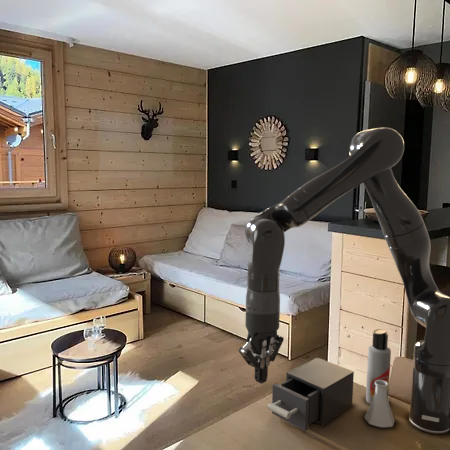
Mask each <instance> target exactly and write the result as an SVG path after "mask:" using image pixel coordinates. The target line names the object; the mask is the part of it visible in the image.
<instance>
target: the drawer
mask: <svg viewBox="0 0 450 450" xmlns="http://www.w3.org/2000/svg"><path fill="white" fill-rule="evenodd" d="M271 393H272V397H271V398H272V400H271V401H272V402H269V403H268V404H267V409H268V410H269V411H271V413H272V415H274V416H276V417H279V418H280V419H281V420H283V421H285V422H287V423H289V424H291V425H293V426H294V427H297V428H298V429H300V430H302V431H304V432H306V431H308V430H309V425H311V424H313V423H314V422H315V420H317V419H319V418H320V408H321V390H318V389H316V388H314V387H312V386H309V385H307V384H305V383H303V382H300V381H298V380H296V379H294V378H290V379H288V380H285V381H282V382H281V383H280V384H279V383H277V382H275V383H273V384H272V392H271Z"/></svg>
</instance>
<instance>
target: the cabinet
mask: <svg viewBox="0 0 450 450" xmlns="http://www.w3.org/2000/svg"><path fill="white" fill-rule="evenodd" d="M354 376H355V371H354V370H352V369H348V368H345V367H343V366H340V365H338V364H335V363H332V362H330V361H327V360H325V359H322V358H320V357H315V358H313V359H312V360H310V361H307V362H305V363H304V364H301V365H299V366H297V367H295V368H293V369H291V370H288V371H286V380H288V379H290V378H294V379H296V380H298V381H300V382H303V383H305V384H307V385H309V386H312V387H314V388H316V389H318V390H321V408H320V418H319V419H317V420H315V421H314V422H315V423H317V424H319V425H321V426H324V425H325V424H327V423H328V422H330V421H331V420H333V419H335V418H336V417H338V416H339V415H341V414H342V413H343V412H345V411H346V410H348V409H349V408H351V407H352V406H353V398H354V397H353V396H354ZM286 380H285V381H286Z"/></svg>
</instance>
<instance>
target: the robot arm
mask: <svg viewBox="0 0 450 450" xmlns="http://www.w3.org/2000/svg"><path fill="white" fill-rule="evenodd" d="M348 148H349V149H348V150H349V151H348V152H349V157H348V158H346V159H344V161H342V162H340V163H339V164H337V165H336V166H334V167H332V168H330V169H329V170H327V171H325V172H323V173H321V174H319V175H318V176H315V177H313V178H311V179H310V180H308V181H307V182H305V183H304V184H302V185H301V186H299V187H298V188H297V189H296V190H293V192H291V193H290V194H288V195H287V196H286V197H285V198H284V199H282V200H281V201H280V202H278V203H276V204H274V205H272V206H270V207H269V208H266V209H265V210H262V211H261V212H259V213H258V214H257V215H255V216H254V217H253V218H251V220H249V222H248V223H247V224H246V227H245V230H244V235H245V239H246V241H247V242H248V243H249V244H250V245H251V246H252V254H251V255H252V258H251V262H250V263H249V264H248V266H247V273H246V274H247V276H246V277H247V281H246V293H245V323H244V324H245V328H246V330H247V336H246V338H245V339H246V341H245V342H246V343H245V344H244V345H243V347H242V346H240V347H239V348H238V353H239V354H240V355H241V357H242V358H243V359H244V361H245V362H246V363H247V365H248V366H250V367H252V368H254V380H255V381H256V382H257V383H259V384H264V383H267V381H268V374H269V366H270V365H271V364H270V363H271V362H274V361H275V360H276V358H277V355H278V353H279V351H280V349H281V347H282V345H283V343H284V339H285V337H283V336H281V335H279V334H278V330H279V329H280V321H281V320H280V318H281V316H280V314H281V295H280V276H281V275H280V269H281V265H282V261H283V256H284V251H285V246H286V237H285V233H286V232H287V231H289V230H291V229H293V228H300V227H302V226H305V224H307V223H308V222H310V221H311V220H312V219H314V218H315V217H316V216H317V215H318V214H320V213H321V212H322V211H324V210H325V209H326V208H328V207H329V206H330V205H332V204H333V203H335V202H336V201H337V200H338V199H340V198H342V197H343V196H345V195H346V194H348V193H349V192H351V191H352V190H353V189H355V188H357V187H358V186H360V185H361V184H363V186H364V188H365V190H366V192H367V194H368V196H369V199H370V202H371V205H372V207H373V211H374V212H375V215H376V218H377V220H378V223H379V226H380V228H381V232H382V234H383V237H384V240H385V242H386V244H387V247H388V249H389V251H390V254H391V256H392V258H393V261H394V263H395V266H396V269H397V272H398V273H399V276H400V278H401V281H402V284H403V287H404V291H405V295H406V299H407V303H408V306H409V310H410V313H411V315H412V318H414V320H415V322H417V323H418V324H419V325H420V326H422V327H424V328H425V333H424V339H421V340H418V341H416V342H415V344H414V346H413V360H412V375H411V376H412V377H411V388H410V389H411V391H410V404H409V407H410V408H409V416H408V420H409V422H410V424H411V425H412V426H413V427H414V428H416V429H418V430H420V431H422V432H424V433H428V434H433V435H444V434H447V433H449V432H450V296H449V295H447V294H445V293H443V292H441V291H440V290H439V288H438V286H437V284H436V282H435V280H434V277H433V274H432V271H431V267H430V257H431V248H432V245H431V238H430V235H429V232H428V230H427V226H426V224H425V221H424V219H423V217H422V214H421V212H420V211H419V209H418V208H417V206H416V205H415V204H414V202H413V201H412V200H411V199H410V198H409V197H408V195H407V194H406V193H405V191H404V190H403V189H402V188H401V186H400V185H399V183H398V181H397V180H396V177H395V176H394V172H393V170H392V168H393V167H395V166H396V165H397V164H398V163H399V162H400V161H401V159H402V157H403V155H404V152H405V141H404V139H403V137H402V135H401V134H400V133H399V132H398V131H397V130H395V129H393V128H391V127H376V128H371V129H366V130H362V131H360V132H357V133H356V134H355V135H354V136H353V137H352V139H351V140H350V143H349V147H348Z"/></svg>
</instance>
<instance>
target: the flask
mask: <svg viewBox="0 0 450 450" xmlns="http://www.w3.org/2000/svg"><path fill="white" fill-rule="evenodd" d="M375 385H376V389H375V394H374V397H373V400H372V402H371V404H369V407H368V408H367V411H366V413H365V415H364V419H365V421H366V422H368V424H369V425H372V426H373V427H374V426H375V427H378V428H393V427H394V423H395V417H394V415H393V412H392V409H391V406H390V402H389V397H388V398H387V386H388V383H387V382H386V381H383V380H376V381H375Z"/></svg>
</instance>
